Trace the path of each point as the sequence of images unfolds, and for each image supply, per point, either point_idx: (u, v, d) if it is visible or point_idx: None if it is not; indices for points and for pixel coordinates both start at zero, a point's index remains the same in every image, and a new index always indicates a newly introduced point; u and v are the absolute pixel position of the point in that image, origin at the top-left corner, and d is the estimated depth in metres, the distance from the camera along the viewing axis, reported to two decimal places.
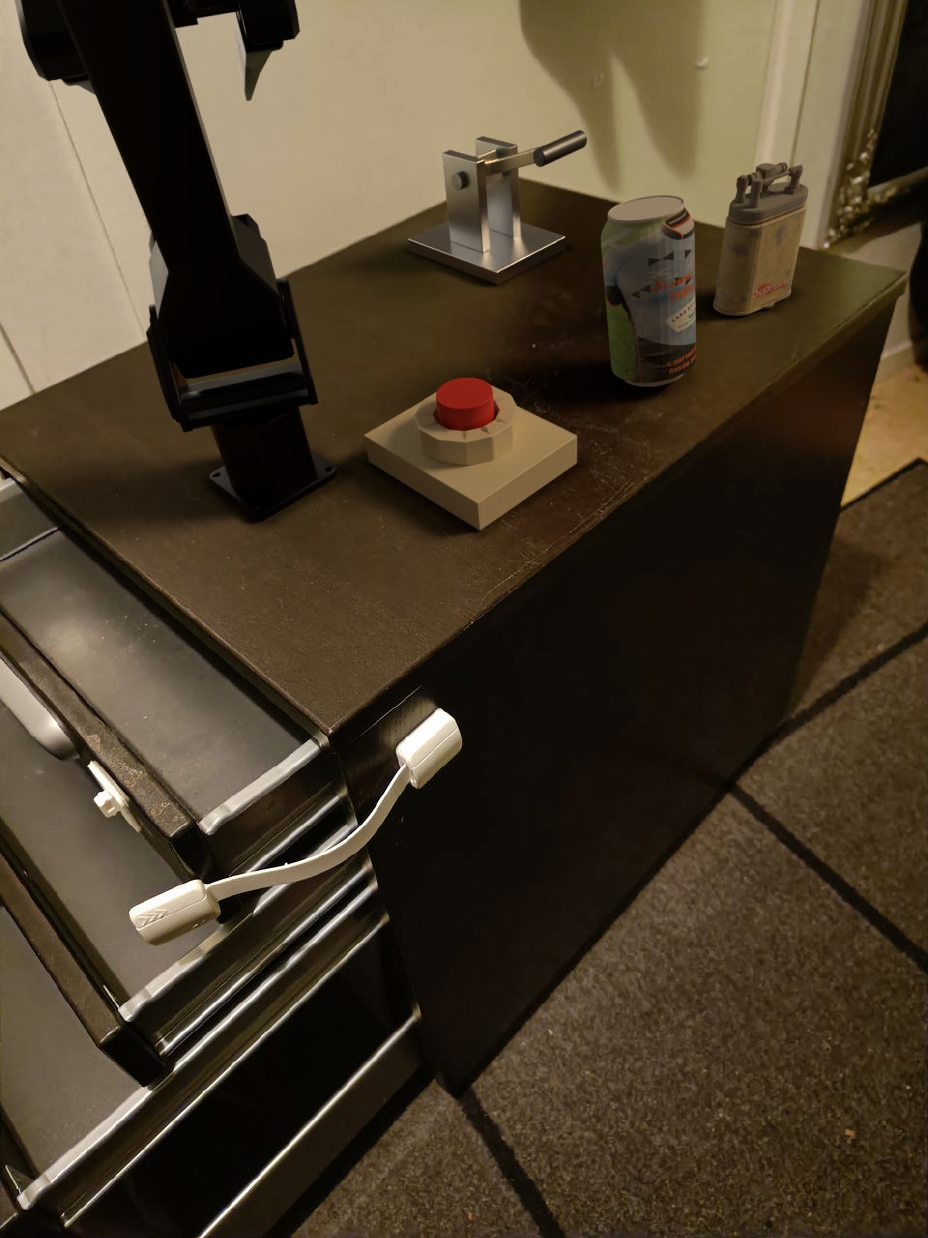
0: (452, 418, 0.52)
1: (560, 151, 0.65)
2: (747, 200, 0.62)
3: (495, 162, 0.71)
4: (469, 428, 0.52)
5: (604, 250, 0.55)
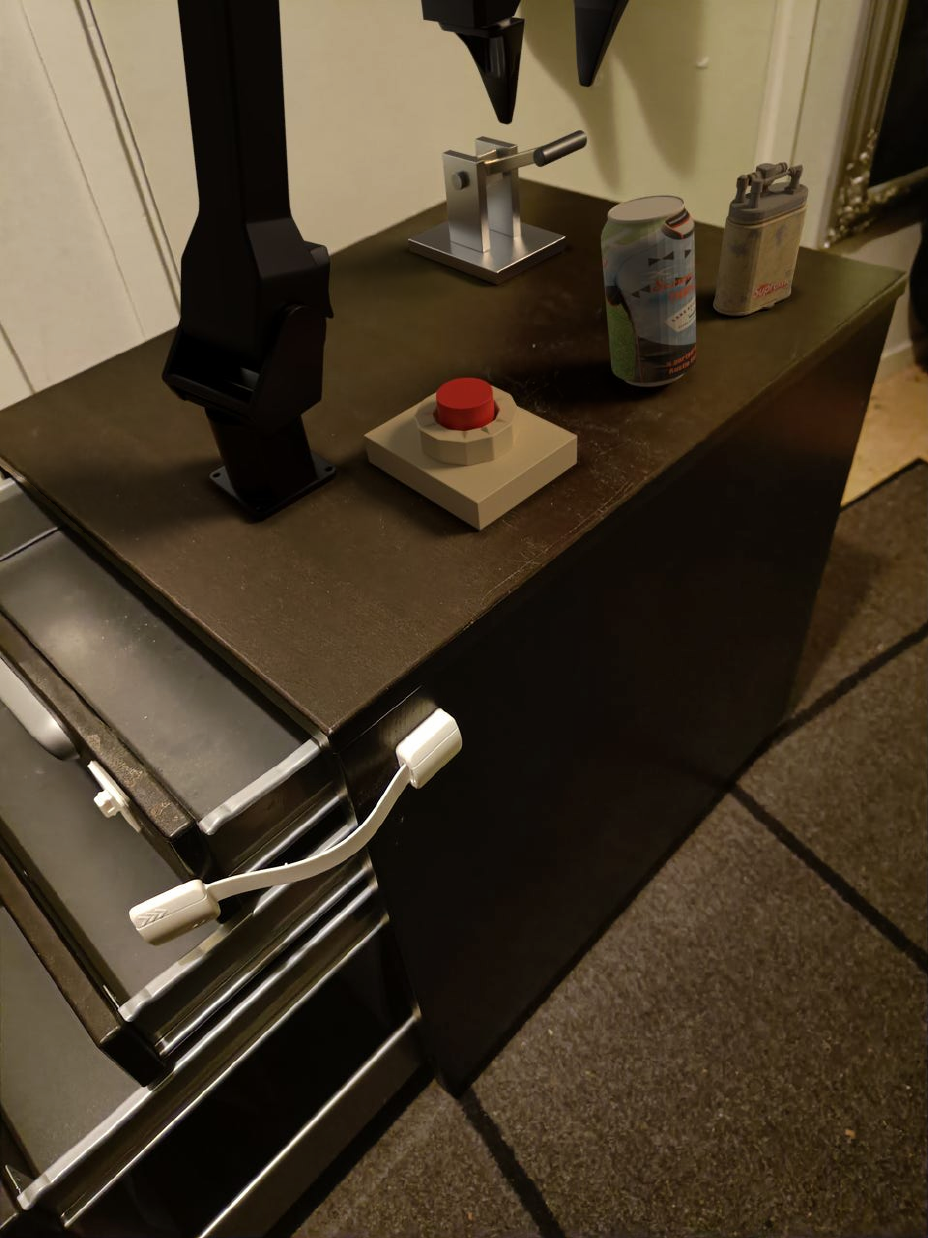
0: (452, 418, 0.52)
1: (560, 151, 0.65)
2: (747, 200, 0.62)
3: (495, 162, 0.71)
4: (469, 428, 0.52)
5: (604, 250, 0.55)
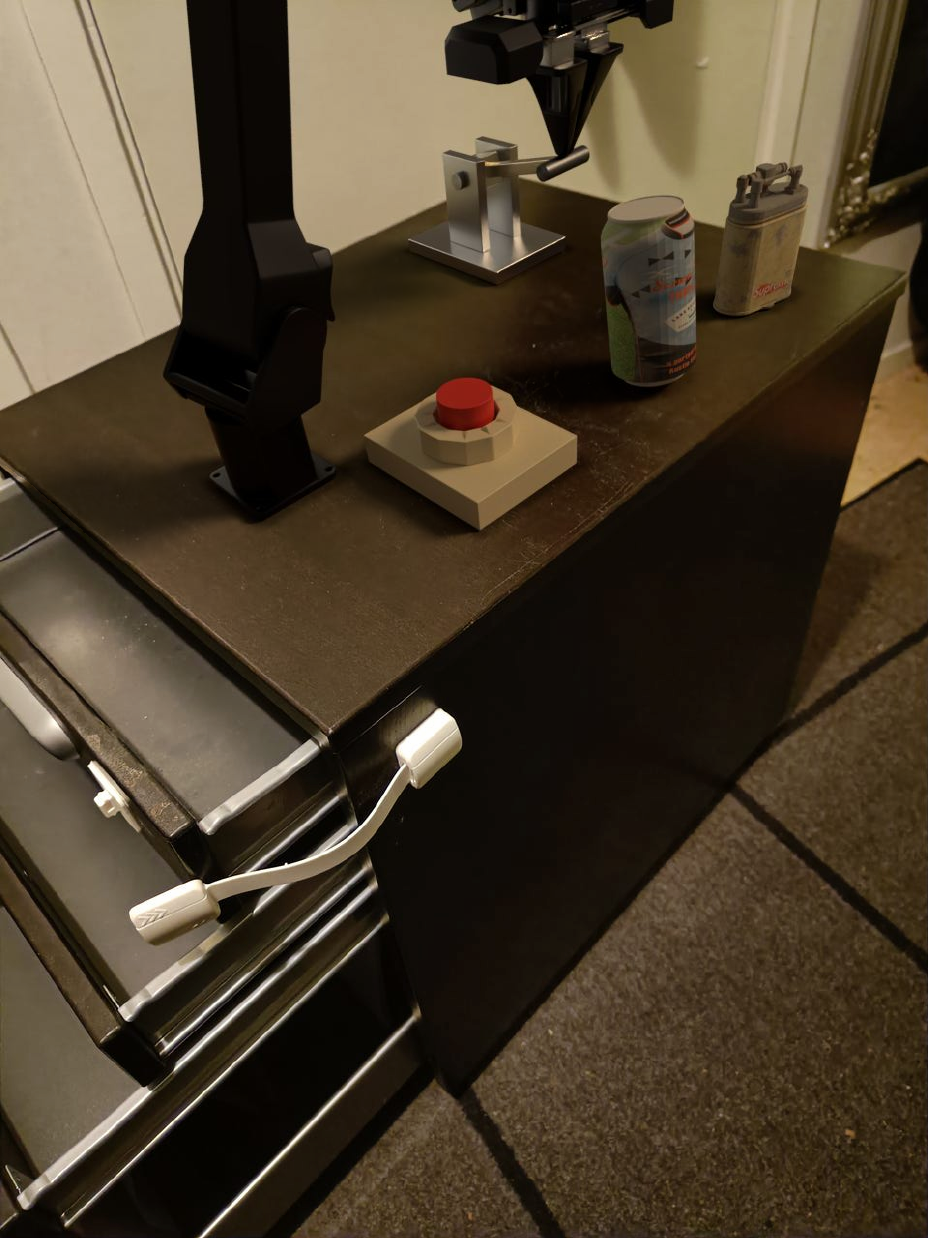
0: (452, 418, 0.52)
1: (563, 167, 0.66)
2: (747, 200, 0.62)
3: (496, 166, 0.71)
4: (469, 428, 0.52)
5: (604, 250, 0.55)
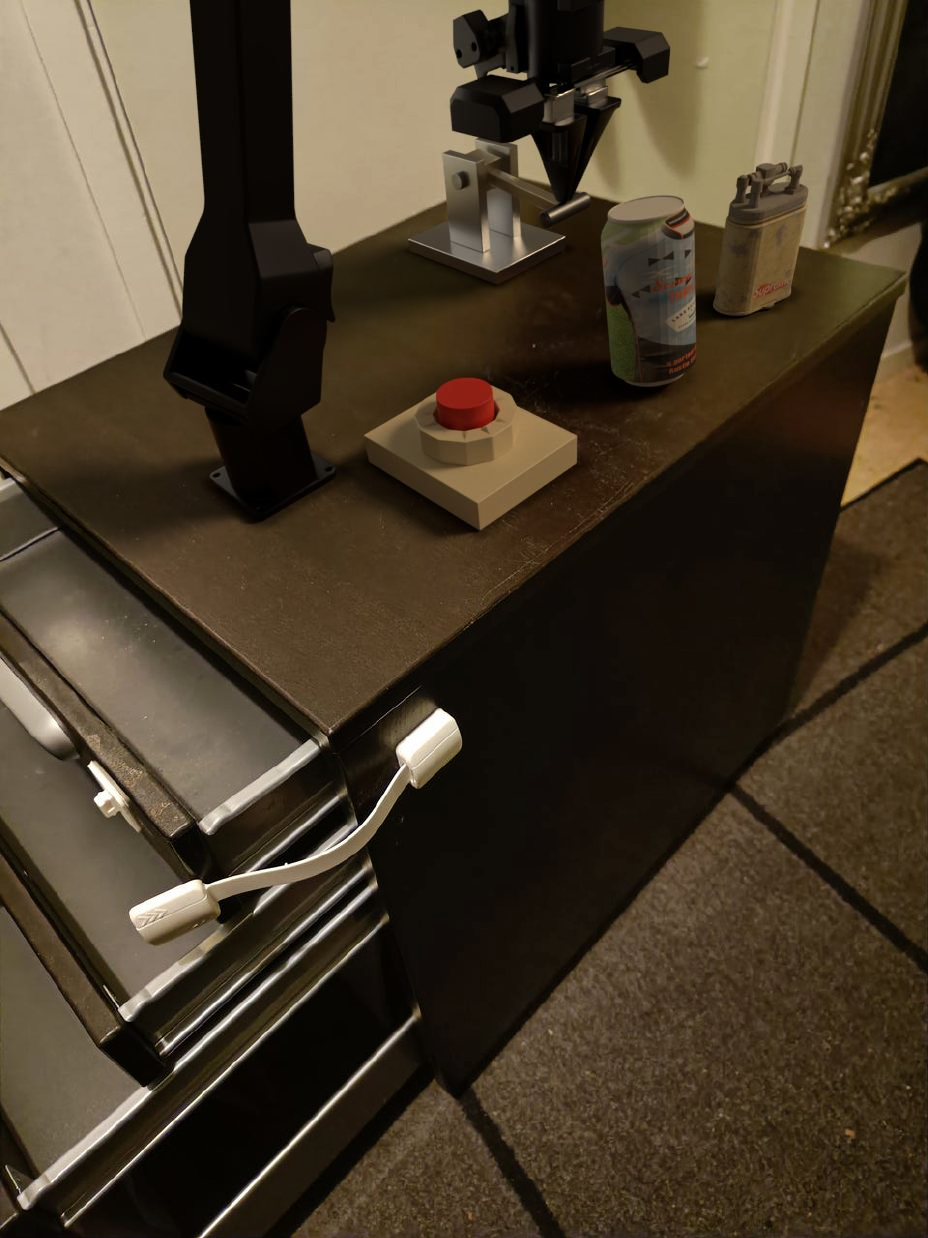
0: (452, 418, 0.52)
1: (565, 217, 0.69)
2: (747, 200, 0.62)
3: (498, 178, 0.72)
4: (469, 428, 0.52)
5: (604, 250, 0.55)
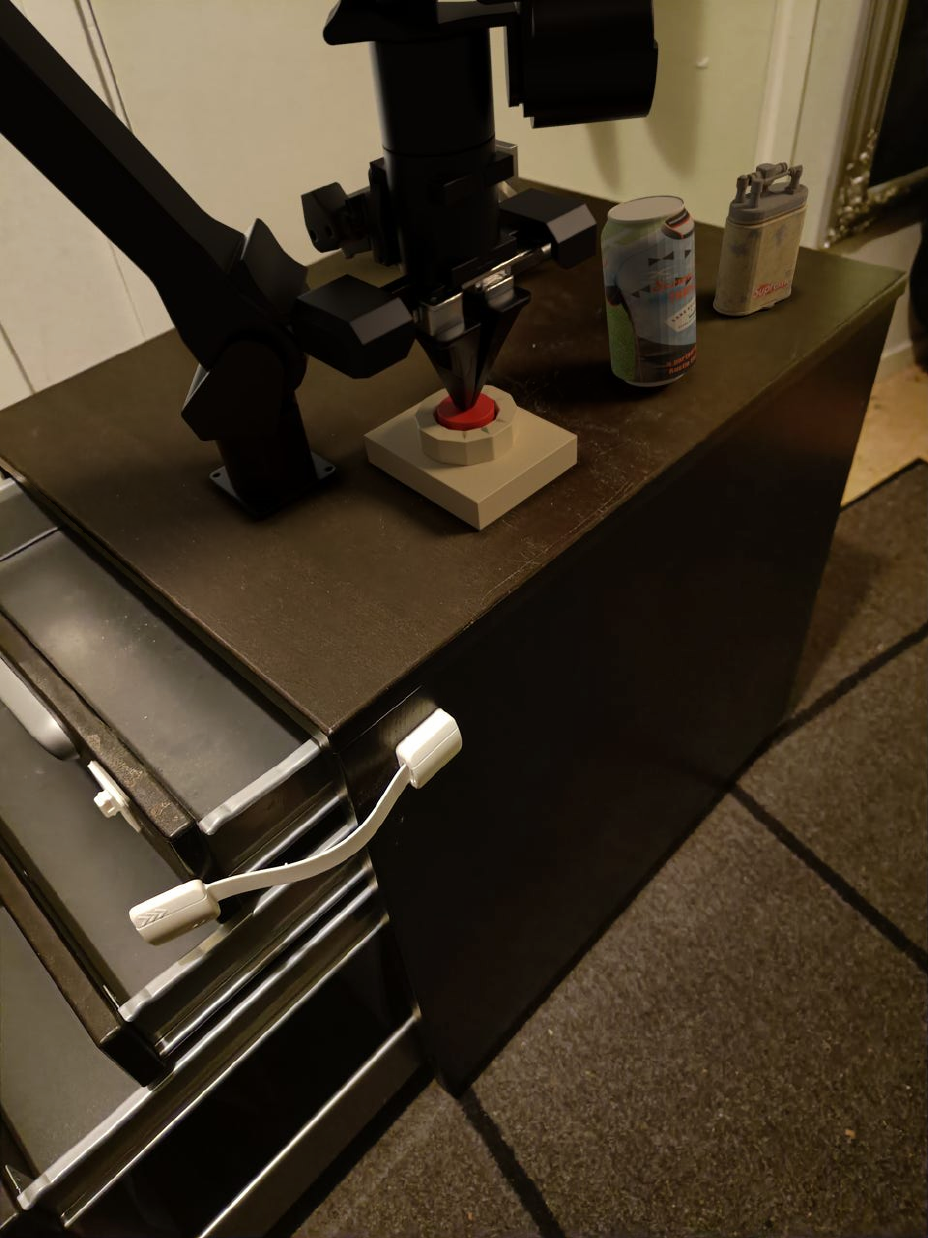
0: None
1: None
2: (747, 200, 0.62)
3: (498, 188, 0.73)
4: None
5: (604, 250, 0.55)
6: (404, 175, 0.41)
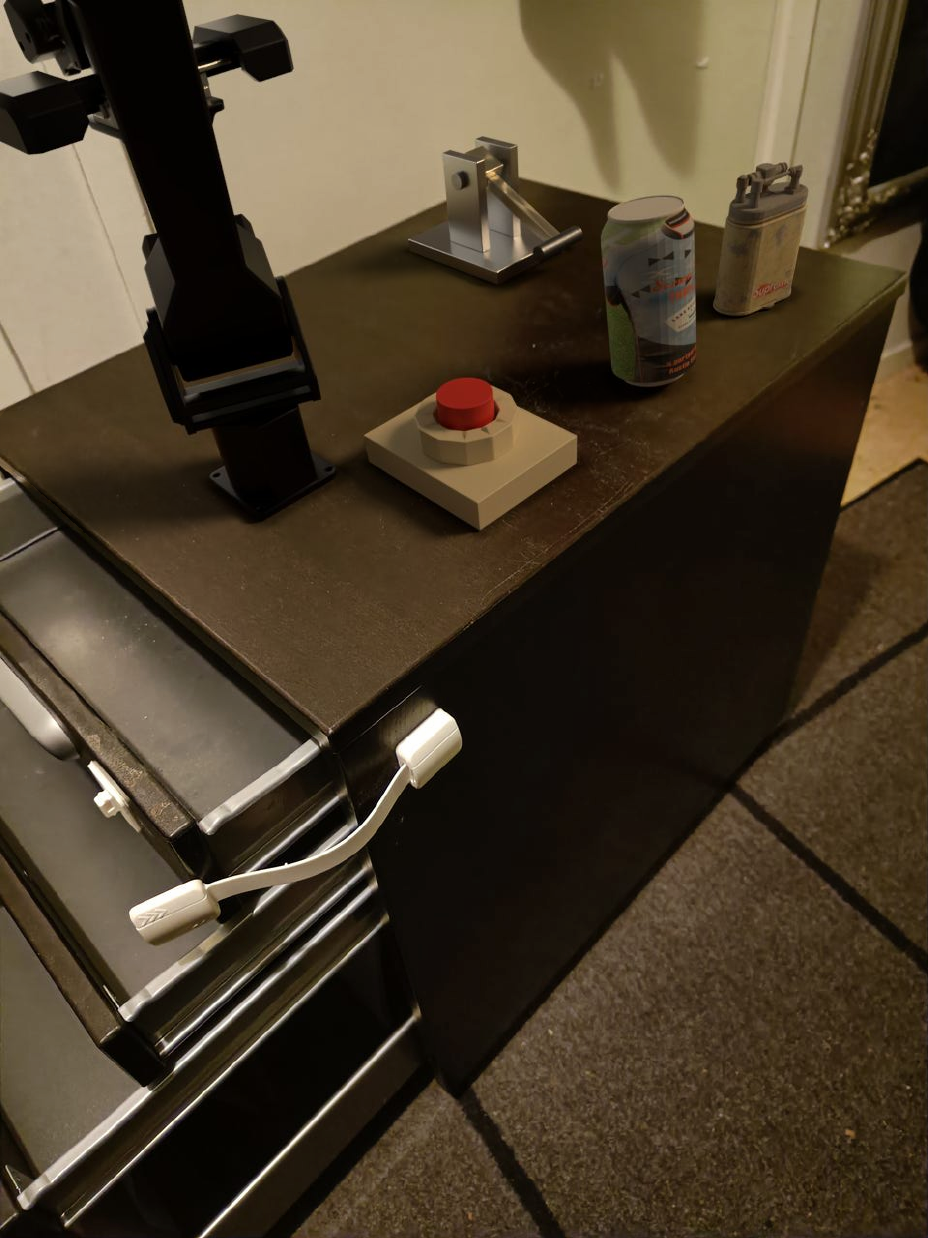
0: (452, 418, 0.52)
1: (556, 252, 0.71)
2: (747, 200, 0.62)
3: (498, 188, 0.73)
4: (469, 428, 0.52)
5: (604, 250, 0.55)
6: None
